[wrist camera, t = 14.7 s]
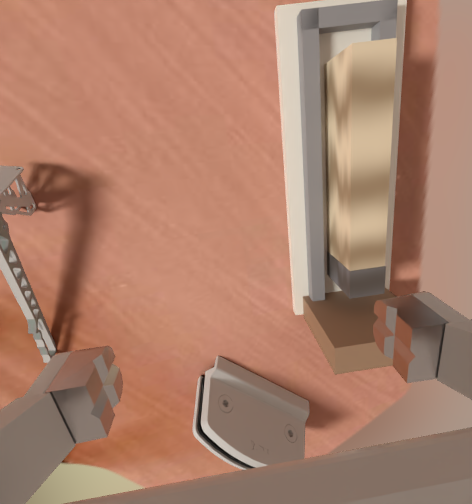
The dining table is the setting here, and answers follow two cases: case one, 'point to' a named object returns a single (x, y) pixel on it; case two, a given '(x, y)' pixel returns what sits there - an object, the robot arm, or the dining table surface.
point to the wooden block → (359, 163)
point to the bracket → (6, 258)
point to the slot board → (314, 166)
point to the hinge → (248, 417)
